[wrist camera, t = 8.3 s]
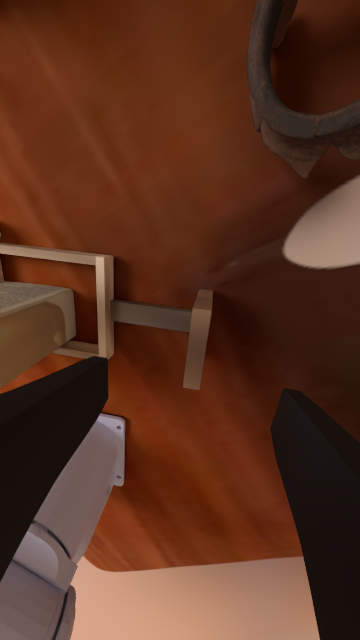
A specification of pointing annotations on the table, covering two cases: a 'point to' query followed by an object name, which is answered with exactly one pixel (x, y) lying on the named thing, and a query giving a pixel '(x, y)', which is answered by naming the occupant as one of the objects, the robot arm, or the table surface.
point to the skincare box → (32, 325)
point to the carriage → (129, 311)
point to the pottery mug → (279, 121)
